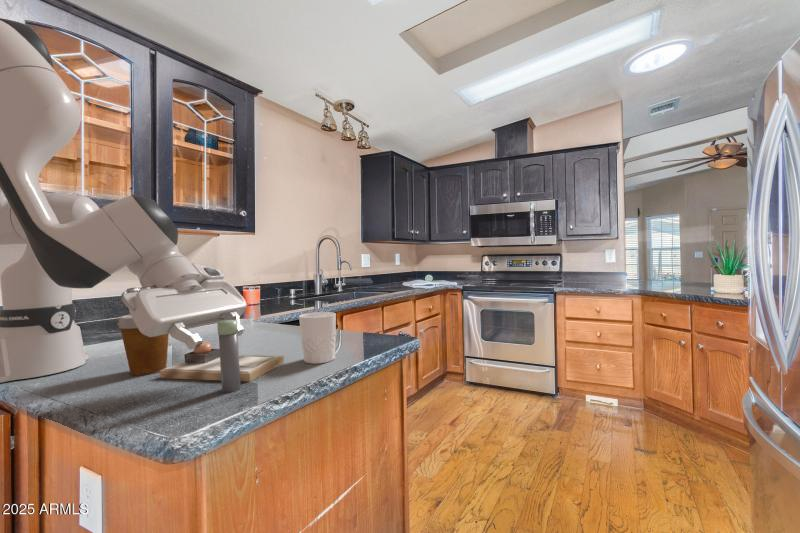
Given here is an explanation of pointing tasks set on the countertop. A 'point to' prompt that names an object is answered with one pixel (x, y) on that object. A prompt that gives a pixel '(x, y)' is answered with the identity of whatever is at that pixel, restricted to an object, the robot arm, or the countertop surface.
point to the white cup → (318, 336)
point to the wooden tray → (211, 369)
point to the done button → (203, 348)
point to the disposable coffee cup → (143, 348)
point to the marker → (229, 355)
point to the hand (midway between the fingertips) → (220, 339)
